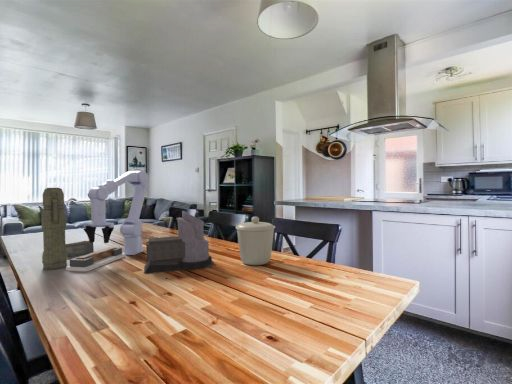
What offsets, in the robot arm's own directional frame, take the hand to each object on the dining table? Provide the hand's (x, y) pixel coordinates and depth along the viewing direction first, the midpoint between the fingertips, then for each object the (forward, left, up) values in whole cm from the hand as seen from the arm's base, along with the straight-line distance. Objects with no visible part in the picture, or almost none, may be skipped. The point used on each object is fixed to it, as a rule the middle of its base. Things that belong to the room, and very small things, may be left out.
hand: (99, 242), depth 130 cm
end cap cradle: (0, -1, -9) cm, 9 cm away
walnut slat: (0, -1, -8) cm, 8 cm away
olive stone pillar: (+9, -15, -10) cm, 20 cm away
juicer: (-1, +40, -10) cm, 41 cm away
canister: (-12, +71, -10) cm, 73 cm away
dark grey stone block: (-10, -25, -10) cm, 29 cm away
